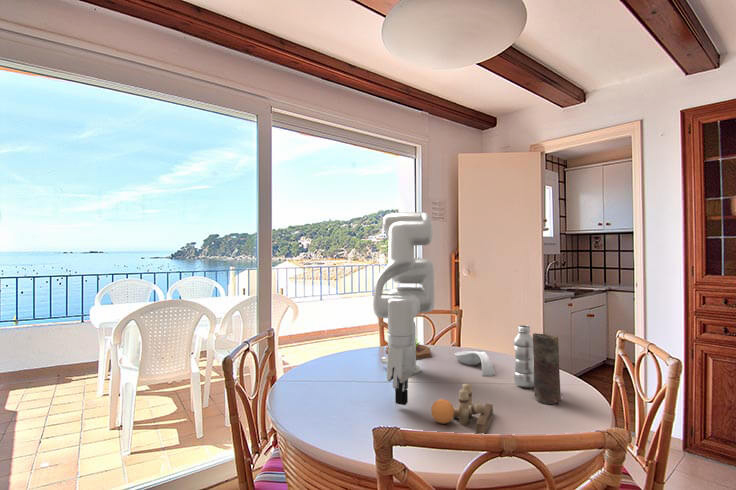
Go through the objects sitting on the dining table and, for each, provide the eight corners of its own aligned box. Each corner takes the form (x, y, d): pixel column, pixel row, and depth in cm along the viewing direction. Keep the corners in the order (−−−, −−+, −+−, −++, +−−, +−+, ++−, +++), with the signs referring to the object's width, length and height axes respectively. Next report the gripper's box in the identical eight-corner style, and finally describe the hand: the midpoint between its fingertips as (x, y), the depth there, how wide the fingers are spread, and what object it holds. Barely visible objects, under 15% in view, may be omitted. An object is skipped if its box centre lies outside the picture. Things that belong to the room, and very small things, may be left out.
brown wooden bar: (476, 433, 100) (476, 423, 100) (485, 412, 113) (485, 403, 113) (484, 434, 99) (484, 424, 99) (492, 413, 112) (492, 404, 112)
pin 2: (458, 424, 105) (457, 392, 105) (460, 420, 108) (460, 389, 108) (467, 426, 104) (467, 393, 104) (469, 422, 106) (469, 390, 107)
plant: (391, 362, 166) (391, 334, 166) (382, 350, 185) (382, 325, 185) (438, 359, 169) (437, 332, 169) (424, 348, 188) (424, 324, 188)
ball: (443, 431, 106) (425, 415, 108) (455, 413, 109) (437, 398, 111) (448, 425, 102) (429, 409, 104) (460, 406, 105) (441, 391, 107)
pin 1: (462, 417, 110) (461, 386, 110) (464, 413, 112) (463, 383, 112) (471, 418, 109) (470, 387, 109) (473, 415, 111) (472, 384, 111)
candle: (529, 395, 125) (528, 331, 125) (551, 395, 126) (550, 331, 126) (542, 405, 117) (541, 337, 118) (565, 404, 118) (564, 336, 118)
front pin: (449, 410, 109) (480, 405, 105) (451, 406, 111) (481, 401, 107) (453, 419, 108) (483, 414, 105) (455, 415, 111) (484, 410, 107)
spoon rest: (450, 359, 167) (450, 342, 167) (477, 358, 169) (477, 341, 169) (473, 377, 144) (473, 357, 144) (504, 375, 146) (504, 356, 146)
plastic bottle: (537, 390, 130) (536, 328, 130) (515, 389, 131) (514, 328, 131) (533, 383, 136) (532, 324, 136) (512, 382, 137) (511, 324, 138)
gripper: (398, 334, 125) (398, 393, 124) (378, 344, 111) (379, 410, 111) (421, 336, 121) (421, 396, 121) (404, 347, 108) (404, 415, 108)
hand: (401, 403), depth 116 cm, fingers closed
